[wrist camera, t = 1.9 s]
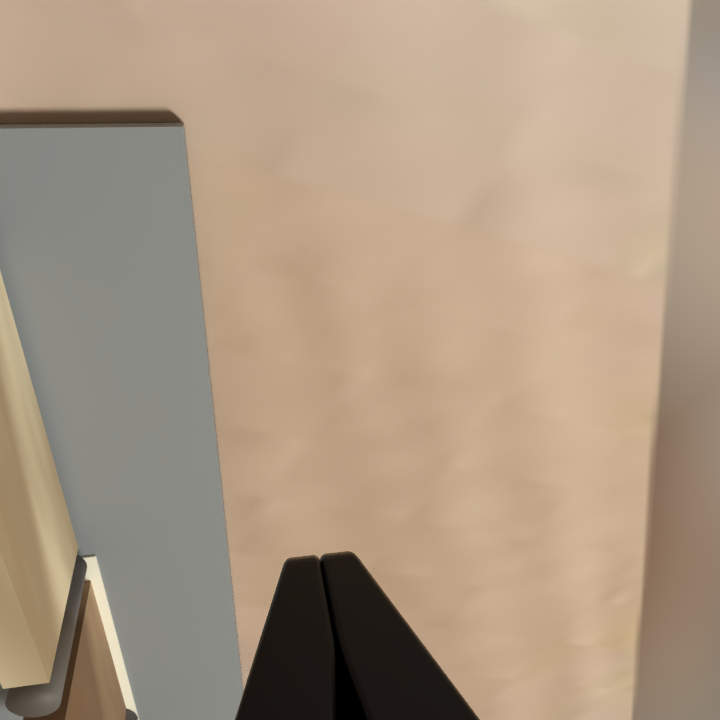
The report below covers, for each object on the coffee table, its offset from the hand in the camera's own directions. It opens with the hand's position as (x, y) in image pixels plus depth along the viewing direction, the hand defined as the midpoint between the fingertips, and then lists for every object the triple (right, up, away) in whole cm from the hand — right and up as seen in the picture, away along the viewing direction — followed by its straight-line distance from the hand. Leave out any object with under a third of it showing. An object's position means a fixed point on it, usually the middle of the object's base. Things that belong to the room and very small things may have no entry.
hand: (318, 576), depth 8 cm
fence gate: (-8, +1, +8) cm, 11 cm away
